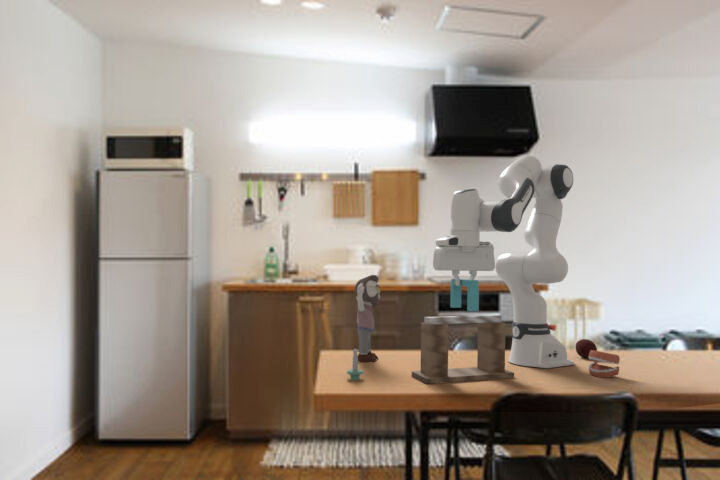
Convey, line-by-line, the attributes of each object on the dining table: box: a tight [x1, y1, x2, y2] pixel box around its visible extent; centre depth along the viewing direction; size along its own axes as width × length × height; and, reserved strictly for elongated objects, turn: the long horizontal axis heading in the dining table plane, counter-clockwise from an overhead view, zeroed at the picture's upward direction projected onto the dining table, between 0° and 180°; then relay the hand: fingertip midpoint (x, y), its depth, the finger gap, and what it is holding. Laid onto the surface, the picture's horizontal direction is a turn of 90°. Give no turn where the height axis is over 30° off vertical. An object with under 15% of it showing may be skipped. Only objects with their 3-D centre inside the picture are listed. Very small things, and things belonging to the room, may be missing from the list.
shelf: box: [411, 314, 515, 385], centre depth 158 cm, size 30×10×18 cm, turn 110°
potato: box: [574, 338, 598, 359], centre depth 192 cm, size 7×8×7 cm
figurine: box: [354, 274, 381, 363], centre depth 179 cm, size 18×9×30 cm, turn 168°
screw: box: [346, 348, 364, 381], centre depth 152 cm, size 9×5×5 cm
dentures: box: [587, 350, 621, 378], centre depth 163 cm, size 9×7×8 cm
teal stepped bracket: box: [449, 278, 480, 312], centre depth 158 cm, size 3×12×9 cm, turn 20°
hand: (464, 285), depth 158 cm, fingers closed on teal stepped bracket, 2 cm apart
